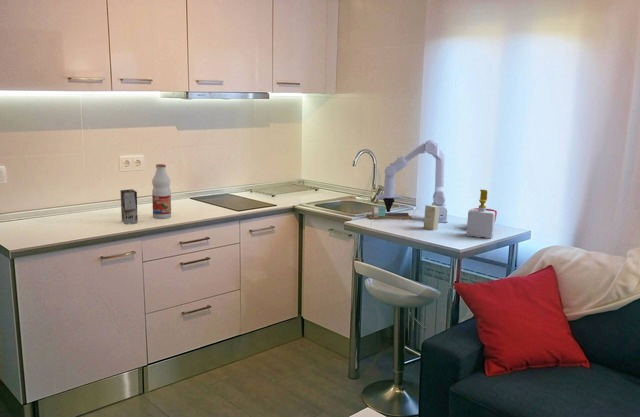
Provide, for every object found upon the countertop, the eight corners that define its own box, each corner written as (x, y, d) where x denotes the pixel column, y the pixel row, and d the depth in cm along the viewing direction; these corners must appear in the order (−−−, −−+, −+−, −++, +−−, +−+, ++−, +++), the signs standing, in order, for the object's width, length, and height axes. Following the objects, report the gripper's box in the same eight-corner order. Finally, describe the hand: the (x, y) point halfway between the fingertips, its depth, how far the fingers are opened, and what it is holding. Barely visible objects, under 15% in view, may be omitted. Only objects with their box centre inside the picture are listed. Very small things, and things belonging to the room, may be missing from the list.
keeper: (385, 216, 323) (385, 207, 322) (378, 216, 322) (378, 207, 321) (382, 214, 328) (383, 206, 327) (375, 214, 327) (376, 206, 326)
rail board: (412, 219, 324) (412, 208, 323) (370, 219, 320) (370, 208, 318) (407, 215, 332) (407, 205, 331) (366, 216, 328) (366, 205, 327)
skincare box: (423, 228, 302) (424, 205, 300) (428, 227, 305) (429, 204, 303) (433, 230, 298) (435, 207, 295) (438, 229, 301) (440, 206, 298)
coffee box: (138, 223, 295) (137, 191, 291) (125, 224, 291) (123, 192, 288) (134, 219, 302) (133, 188, 299) (121, 220, 299) (120, 189, 296)
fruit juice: (174, 216, 312) (173, 164, 307) (163, 219, 304) (162, 166, 299) (160, 214, 316) (159, 163, 311) (149, 217, 308) (147, 164, 302)
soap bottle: (466, 236, 288) (469, 189, 283) (468, 233, 294) (472, 187, 289) (491, 239, 283) (495, 191, 278) (493, 236, 289) (497, 189, 284)
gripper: (399, 186, 328) (398, 210, 330) (374, 186, 325) (373, 210, 328) (403, 188, 321) (402, 212, 324) (378, 188, 318) (377, 212, 321)
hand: (388, 211), depth 325 cm, fingers closed
